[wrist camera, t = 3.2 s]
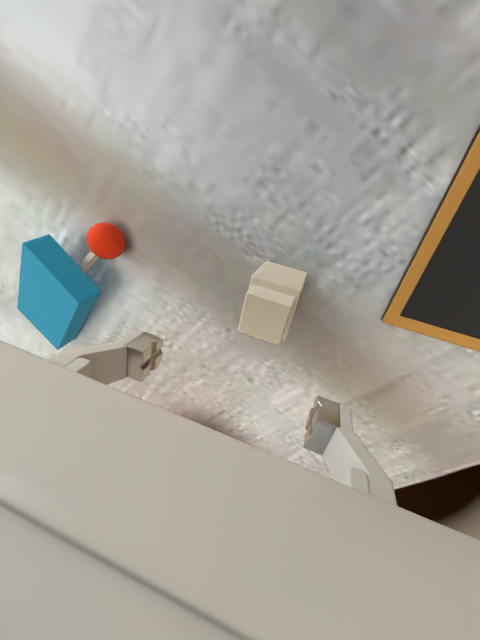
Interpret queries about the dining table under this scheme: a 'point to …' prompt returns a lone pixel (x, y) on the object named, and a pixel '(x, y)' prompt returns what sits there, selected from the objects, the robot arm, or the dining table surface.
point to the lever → (62, 282)
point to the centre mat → (446, 266)
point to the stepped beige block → (271, 302)
